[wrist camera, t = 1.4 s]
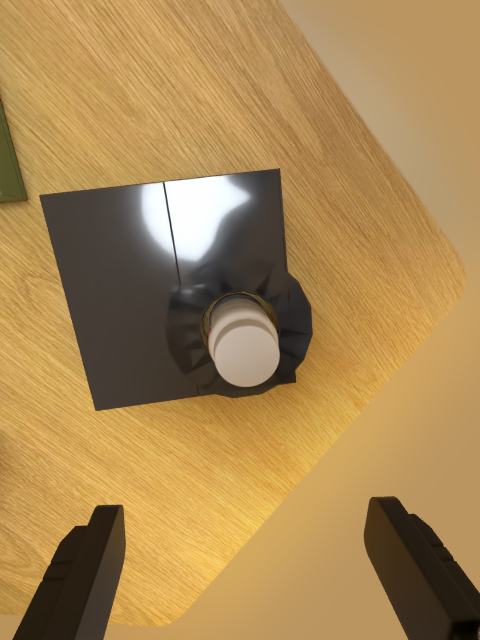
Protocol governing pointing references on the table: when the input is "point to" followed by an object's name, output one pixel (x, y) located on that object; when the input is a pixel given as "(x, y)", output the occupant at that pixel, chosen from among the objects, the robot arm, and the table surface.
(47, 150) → the table surface
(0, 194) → the tray
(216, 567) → the table surface
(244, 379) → the pill bottle
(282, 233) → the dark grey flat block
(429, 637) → the robot arm
